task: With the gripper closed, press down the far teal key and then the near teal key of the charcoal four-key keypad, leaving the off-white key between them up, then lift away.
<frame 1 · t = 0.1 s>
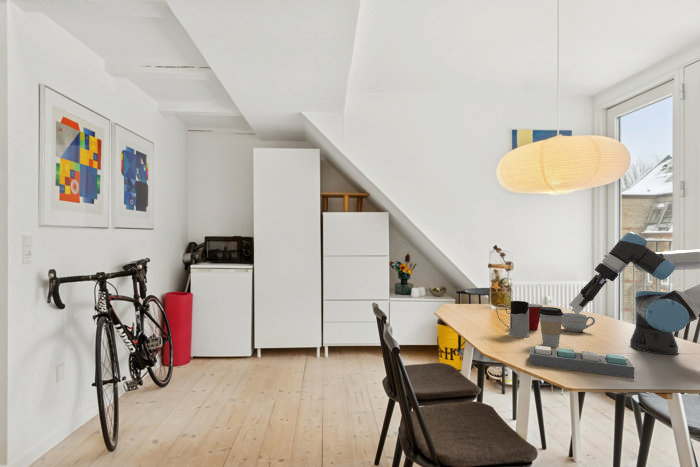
hand: (573, 309, 158), 15 cm above the table, tool tilted 35°, fingers open, 13 cm apart
key 4 white: (543, 351, 140), point 4 cm above the table, slide at 0.0 cm
keyboard: (578, 366, 135), on the table
coffee cup: (550, 345, 162), on the table
key 1 teal: (615, 360, 130), point 4 cm above the table, slide at 0.0 cm
key 3 teal: (566, 354, 137), point 4 cm above the table, slide at 0.0 cm
teacup: (577, 331, 186), on the table
plastic cup: (530, 329, 191), on the table
key 2 white: (590, 356, 133), point 4 cm above the table, slide at 0.0 cm
grey and black mug: (512, 335, 178), on the table
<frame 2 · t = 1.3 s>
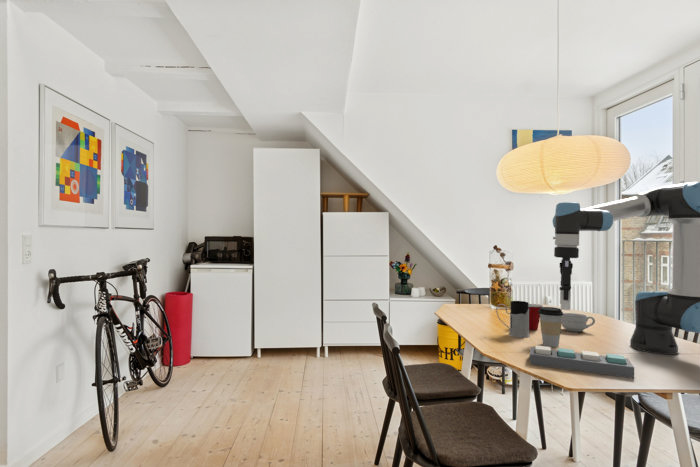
hand: (564, 307, 138), 20 cm above the table, tool pointing down, fingers open, 13 cm apart
nothing on the table moved.
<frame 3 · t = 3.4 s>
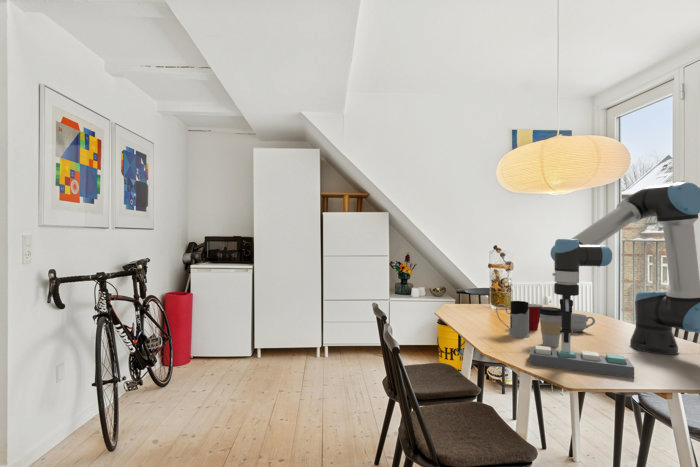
hand: (565, 351, 137), 5 cm above the table, tool pointing down, fingers closed
key 3 teal: (566, 355, 137), point 3 cm above the table, slide at 0.4 cm, touching gripper
everything else where it was.
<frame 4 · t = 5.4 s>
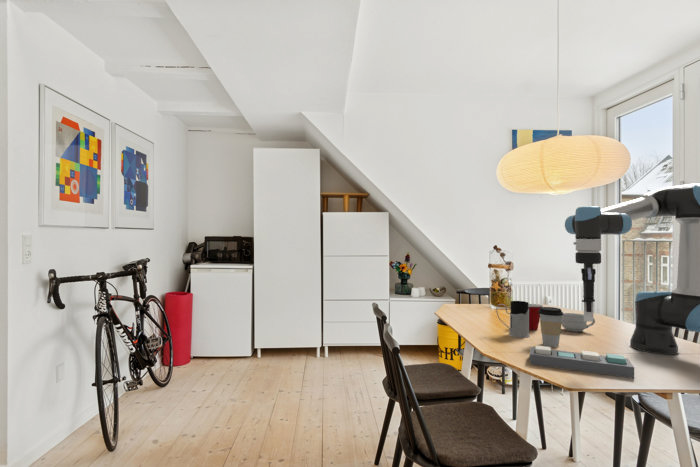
hand: (588, 320, 134), 16 cm above the table, tool pointing down, fingers closed
key 3 teal: (566, 358, 137), point 2 cm above the table, slide at 1.4 cm
everything else where it was.
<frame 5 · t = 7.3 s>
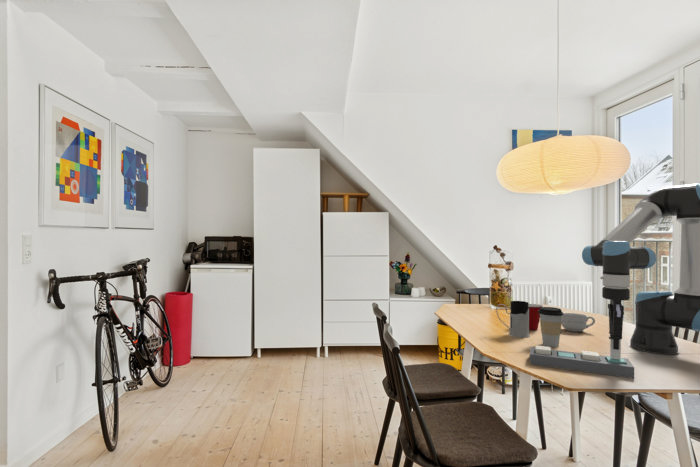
hand: (615, 358, 130), 4 cm above the table, tool pointing down, fingers closed
key 1 teal: (615, 362, 130), point 3 cm above the table, slide at 0.9 cm, touching gripper
everything else where it was.
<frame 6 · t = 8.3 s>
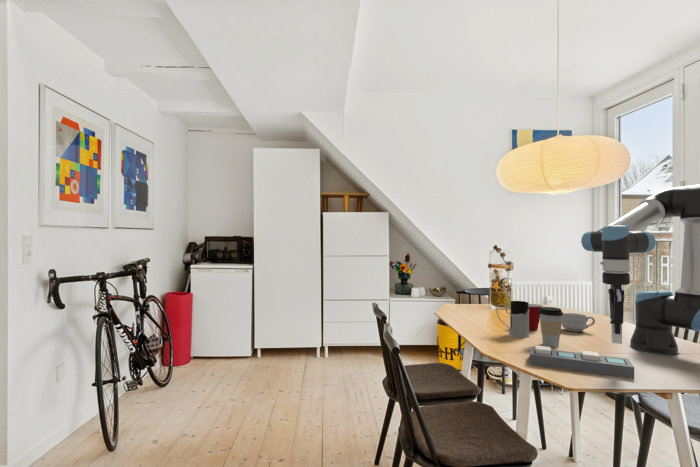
hand: (616, 342, 131), 9 cm above the table, tool pointing down, fingers closed
key 1 teal: (615, 364, 130), point 2 cm above the table, slide at 1.4 cm
everything else where it was.
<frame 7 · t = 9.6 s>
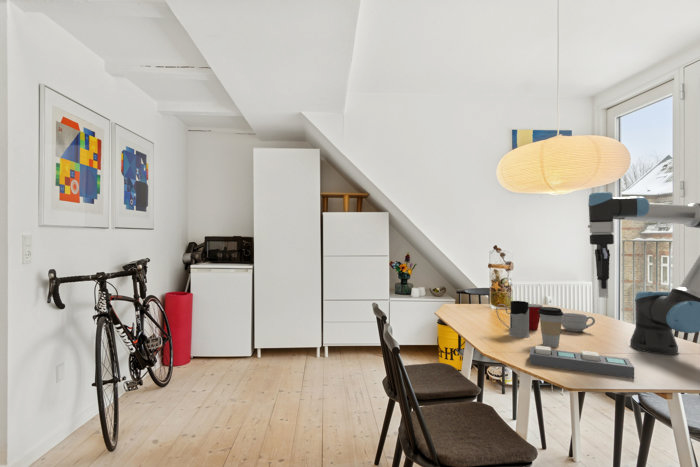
hand: (603, 297, 146), 22 cm above the table, tool pointing down, fingers closed
nothing on the table moved.
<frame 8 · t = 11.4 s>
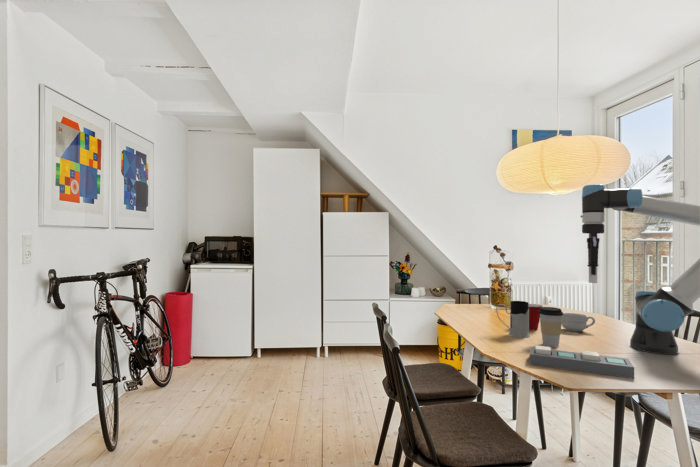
hand: (592, 282, 156), 26 cm above the table, tool pointing down, fingers closed
nothing on the table moved.
at the end: key 3 teal slide at 1.4 cm; key 1 teal slide at 1.4 cm; key 2 white slide at 0.0 cm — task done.
